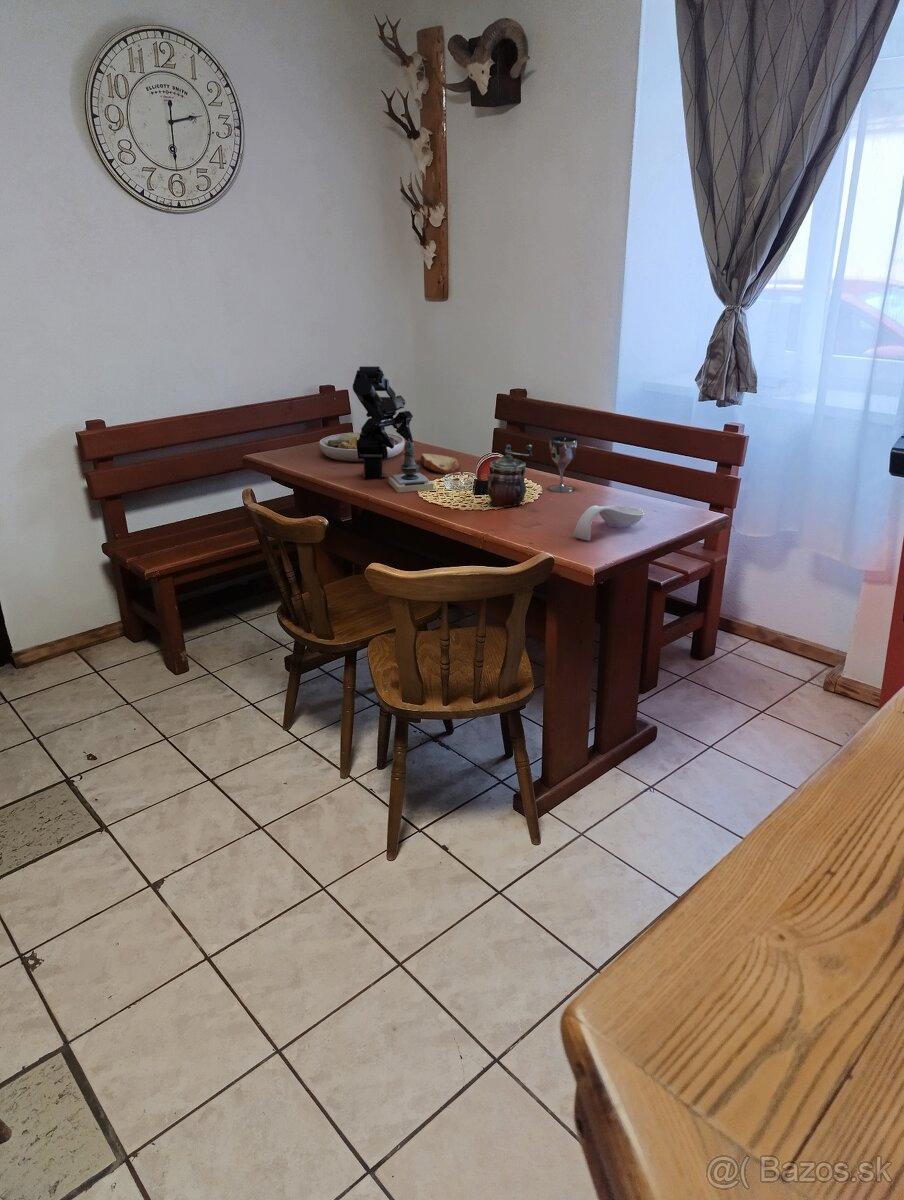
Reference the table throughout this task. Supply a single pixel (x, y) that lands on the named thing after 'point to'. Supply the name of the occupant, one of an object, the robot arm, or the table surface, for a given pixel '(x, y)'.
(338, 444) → the bowl
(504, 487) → the coffee grinder
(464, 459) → the table surface
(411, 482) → the scale
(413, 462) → the grey carved figurine
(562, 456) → the wine glass
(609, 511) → the spoon rest
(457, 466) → the bread slice
